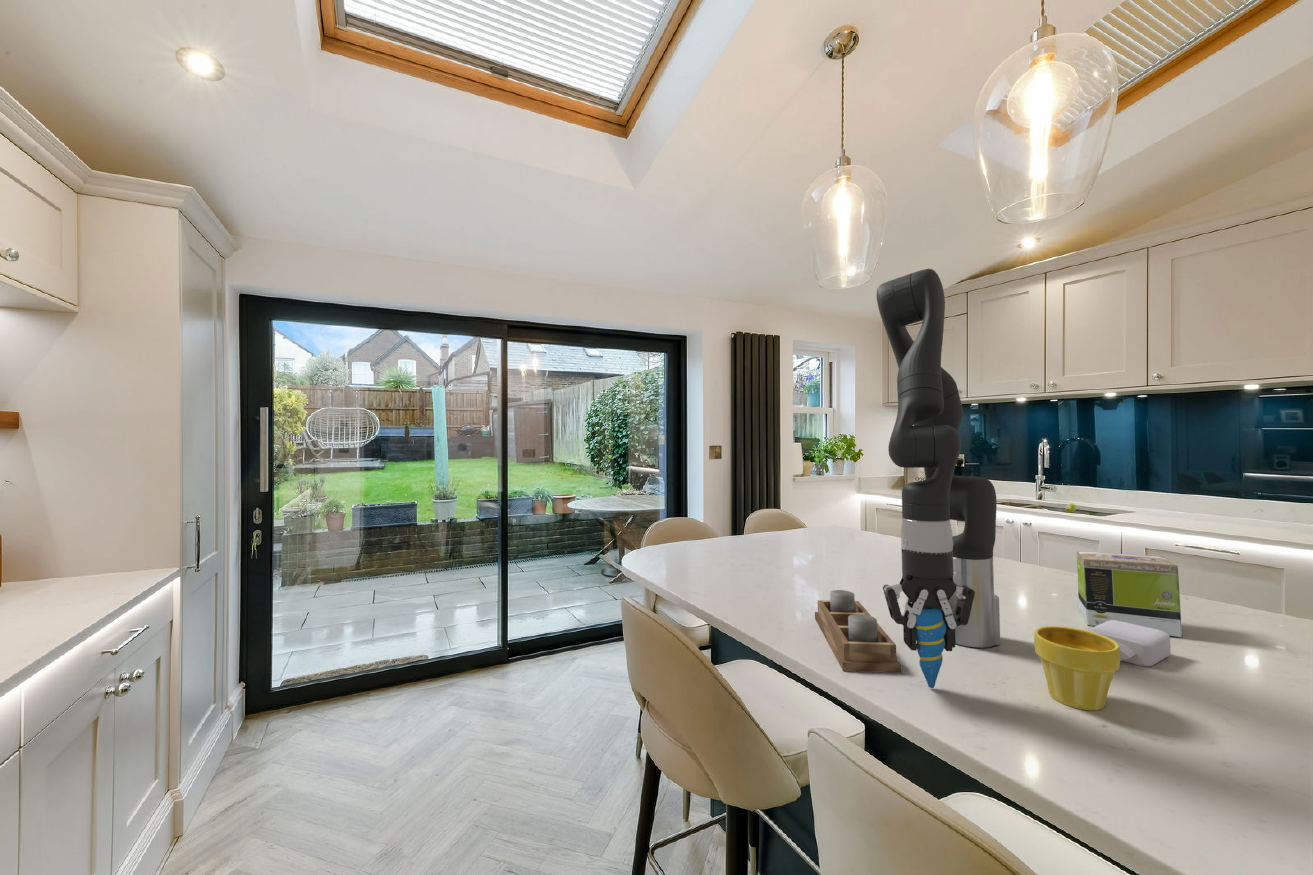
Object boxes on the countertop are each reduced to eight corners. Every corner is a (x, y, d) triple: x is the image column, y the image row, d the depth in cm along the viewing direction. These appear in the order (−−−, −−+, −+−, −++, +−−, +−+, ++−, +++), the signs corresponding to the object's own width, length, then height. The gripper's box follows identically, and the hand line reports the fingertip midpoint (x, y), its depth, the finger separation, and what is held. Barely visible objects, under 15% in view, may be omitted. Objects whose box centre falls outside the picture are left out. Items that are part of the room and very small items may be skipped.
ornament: (935, 698, 81) (931, 603, 81) (905, 685, 85) (902, 595, 85) (955, 689, 83) (951, 597, 83) (925, 677, 88) (922, 590, 88)
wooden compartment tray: (859, 619, 117) (859, 586, 117) (901, 672, 90) (900, 630, 90) (814, 618, 118) (814, 585, 118) (842, 670, 91) (841, 628, 91)
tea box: (1167, 623, 111) (1165, 555, 111) (1182, 639, 102) (1180, 565, 102) (1077, 612, 119) (1076, 548, 119) (1085, 626, 110) (1083, 557, 110)
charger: (1072, 659, 95) (1107, 641, 102) (1138, 678, 87) (1170, 658, 94) (1072, 633, 95) (1106, 618, 102) (1137, 650, 87) (1170, 632, 94)
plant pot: (1130, 725, 72) (1127, 656, 73) (1039, 706, 78) (1037, 642, 78) (1113, 693, 81) (1111, 632, 81) (1032, 679, 87) (1031, 621, 87)
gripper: (961, 541, 87) (964, 641, 87) (874, 541, 89) (876, 639, 89) (984, 551, 80) (987, 660, 80) (888, 550, 81) (891, 657, 81)
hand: (929, 648), depth 84 cm, fingers closed on ornament, 5 cm apart
